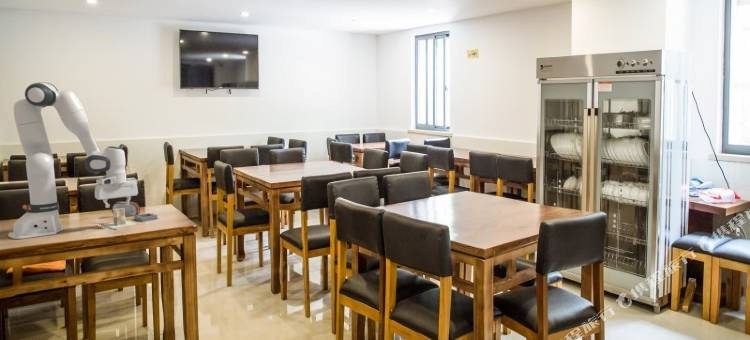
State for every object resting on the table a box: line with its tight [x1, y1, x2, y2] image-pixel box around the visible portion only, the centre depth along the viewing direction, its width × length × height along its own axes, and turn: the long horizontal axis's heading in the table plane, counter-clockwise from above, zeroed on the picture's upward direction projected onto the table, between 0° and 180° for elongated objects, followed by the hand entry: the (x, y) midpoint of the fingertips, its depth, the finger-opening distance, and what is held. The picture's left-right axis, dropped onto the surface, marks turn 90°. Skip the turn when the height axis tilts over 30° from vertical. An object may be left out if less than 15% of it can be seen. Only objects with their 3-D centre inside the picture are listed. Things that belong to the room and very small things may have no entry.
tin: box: [111, 201, 141, 217], centre depth 297 cm, size 15×3×8 cm, turn 84°
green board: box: [102, 220, 137, 231], centre depth 276 cm, size 12×12×1 cm
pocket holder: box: [131, 212, 160, 223], centre depth 288 cm, size 10×10×3 cm
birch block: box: [112, 208, 127, 226], centre depth 276 cm, size 4×4×8 cm
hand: (117, 206), depth 275 cm, fingers open, 8 cm apart
